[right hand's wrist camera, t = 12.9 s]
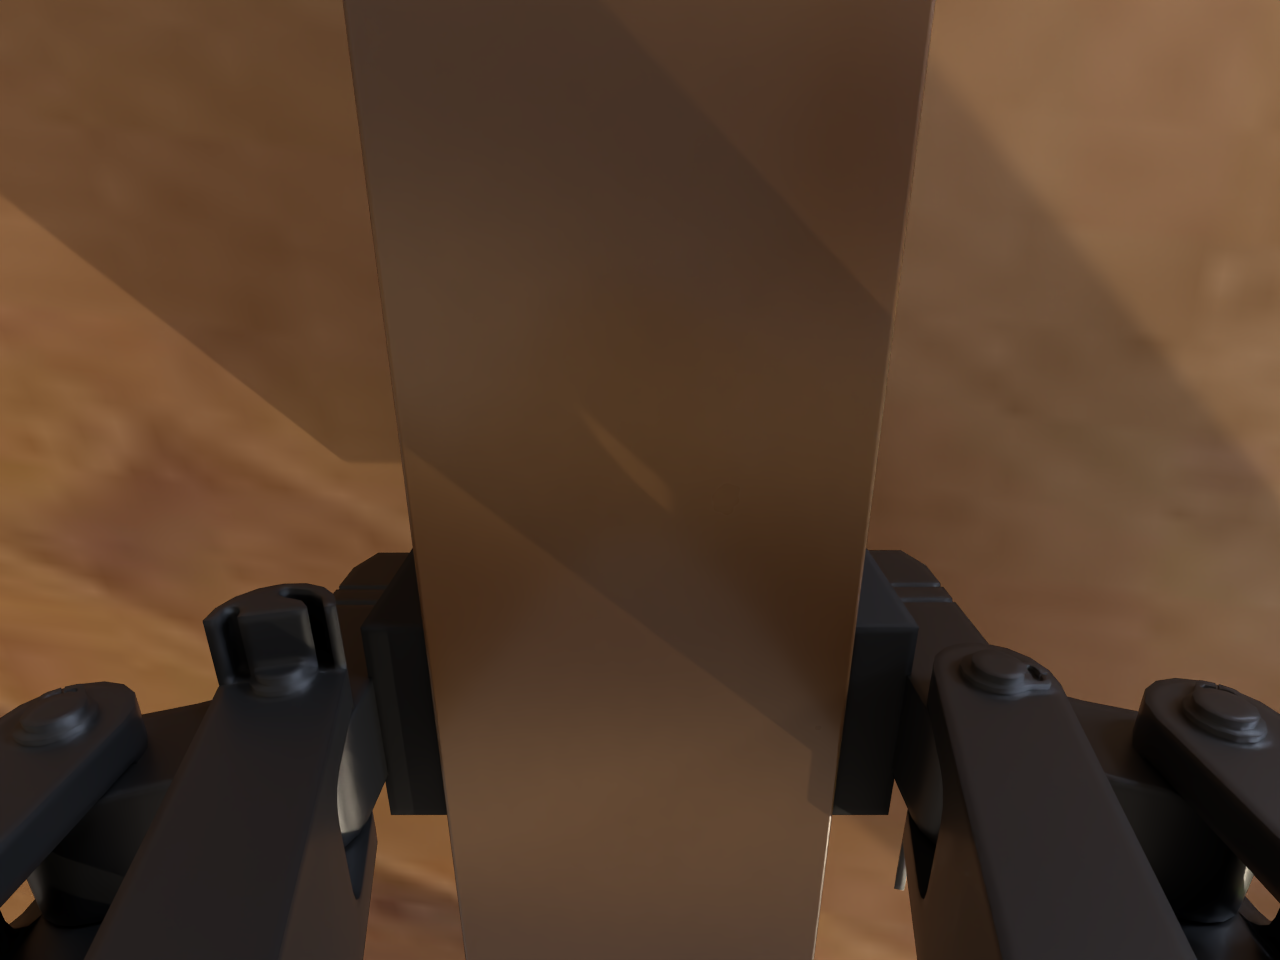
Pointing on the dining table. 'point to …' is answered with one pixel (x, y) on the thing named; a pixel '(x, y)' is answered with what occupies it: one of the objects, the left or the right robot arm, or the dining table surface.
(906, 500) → the dining table surface
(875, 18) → the post
